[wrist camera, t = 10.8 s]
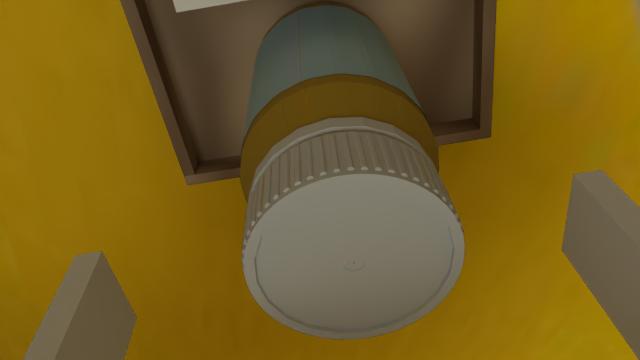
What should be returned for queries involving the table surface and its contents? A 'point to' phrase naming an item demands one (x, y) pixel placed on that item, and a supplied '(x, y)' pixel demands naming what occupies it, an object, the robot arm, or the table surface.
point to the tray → (242, 47)
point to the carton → (199, 4)
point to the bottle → (342, 183)
